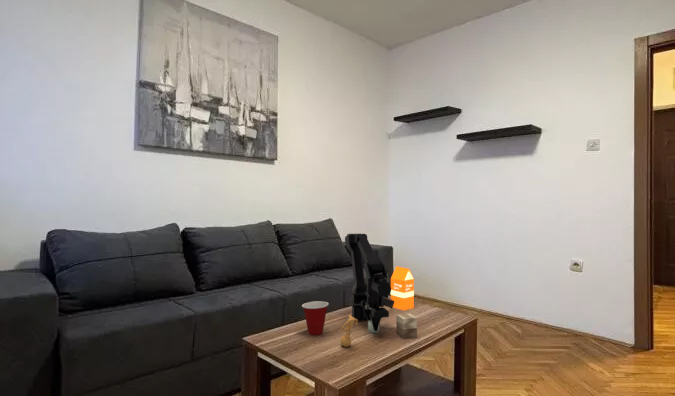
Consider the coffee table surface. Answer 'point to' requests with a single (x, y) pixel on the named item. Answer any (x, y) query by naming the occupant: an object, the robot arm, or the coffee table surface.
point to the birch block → (406, 321)
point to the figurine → (346, 339)
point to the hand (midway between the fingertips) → (373, 328)
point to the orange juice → (402, 288)
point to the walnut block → (406, 333)
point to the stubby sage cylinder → (370, 327)
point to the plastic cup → (315, 316)
